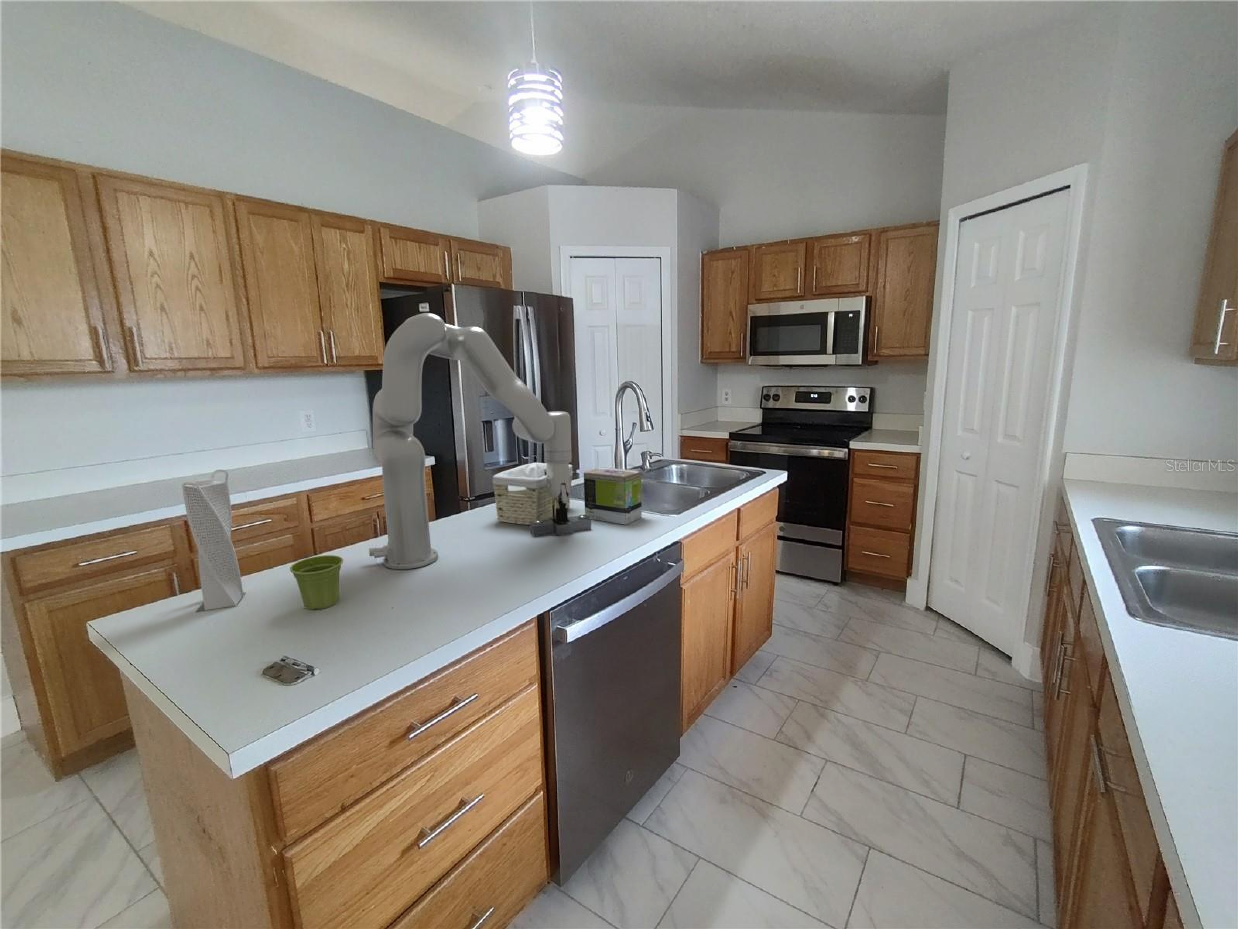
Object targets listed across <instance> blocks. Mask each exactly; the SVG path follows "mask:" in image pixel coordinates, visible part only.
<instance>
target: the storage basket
mask: <svg viewBox="0 0 1238 929" xmlns="http://www.w3.org/2000/svg"><path fill="white" fill-rule="evenodd" d="M546 467H547V463H545V462H544V463H543V462H532V463H527V464H522V465H519V466H516V467H514V468H510V469H507V470H504V471H501V472H498V473H495V474H494V475H493V476H492V484H493V486H492V488H493V494H494V501H495V505H496V506H495V507H496V508H495V509H496V515H497V520H498V521H499V522H502V523H504V522H505V523H511V524H517V525H526V526H530V521H534V520H545V519H549V517H553V510H552V505H553V503H552V497H551V496H550V495H549V494H548V493H547V491H546V474H545V473H546ZM569 473H570V496H569V497H568V498H567V510H569V508H570V507H571V495H572V492H571V490H572V480H573V473H574V472H573V465H572V464H569ZM559 497H560V496H559Z"/></svg>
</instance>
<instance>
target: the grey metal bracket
mask: <svg viewBox="0 0 1238 929" xmlns="http://www.w3.org/2000/svg"><path fill="white" fill-rule="evenodd" d="M567 517H568V521H567V522H563V523H555V519H554V518H553V517H549V519H545V520H534V521H530V525H529V532H530V533H531V535H532V537H542V536H550V534H551V535H555V534H556V535H555V536H556V537H558V536H559V535H560V536H566V535H567V534H568V535H573V533H574V532H581V531H582V532H583V531H590V530H592V519H590V518H589V517H588V516H587V515H585V514H579V515H573V516H567Z"/></svg>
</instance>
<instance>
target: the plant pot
mask: <svg viewBox="0 0 1238 929" xmlns="http://www.w3.org/2000/svg"><path fill="white" fill-rule="evenodd" d="M343 562H344V559H343V557H341V556H340V555H333V554H329V555H317V556H312V557H309V558H304V559H301V560H299V561H297V562H294V563H293V564H291V566H290V567H289V570H290V572H291V573H292V575H293V578H295V579H296V582H297V586H298V589H299V592H300V595H301V598H302V602H303V605H304V607H305V609H307V610H311V611H312V610H315V609H320V610H323V609H327V608H329V607H332V606H334V605H335V604H337V602H338V600H339V594H340V593H339V592H340V588H339V587H340V571H341V568H342V564H343Z"/></svg>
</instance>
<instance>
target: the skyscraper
mask: <svg viewBox="0 0 1238 929" xmlns="http://www.w3.org/2000/svg"><path fill="white" fill-rule="evenodd" d="M217 473H224V474H225V480H224V481H221V480H220V481H219V480H215V478H214V477H215V475H216V474H217ZM228 479H229V471H226V470H224V469H216V470H214V471H213V472H212V474H211V476H210V477H206V478H204V477H203V478H199V479H196V480H195V482H188V481H187V482H183V483H182V486H181V488H182V494H183V501H184V507H185V511H186V516H187V521H188V524H189V528H190V532H191V534H192V538H193V539H194V542H195V544H196V547H197V559H198V572H199V580H200V587H201V593H202V600H203V601H202V603H201V604H200V605H199V607H197V609H196V610H195V613H200V612H209V611H215V610H222V609H227V608H229V609H230V608H234V607H235V608H236V607H238V605H239V604H240V603H241V601H242V599H243V598H244V597H245V595H246V592H245V591H244V590H243V589H244V588H243V582H242V577H241V571H240V567H239V561H238V558H237V553H236V550H235V548H234V544H233V541H232V539H231V533H232V525H233V523H232V516H233V515H232V505H231V504H232V503H231V495H230V489H229V483H228Z"/></svg>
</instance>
